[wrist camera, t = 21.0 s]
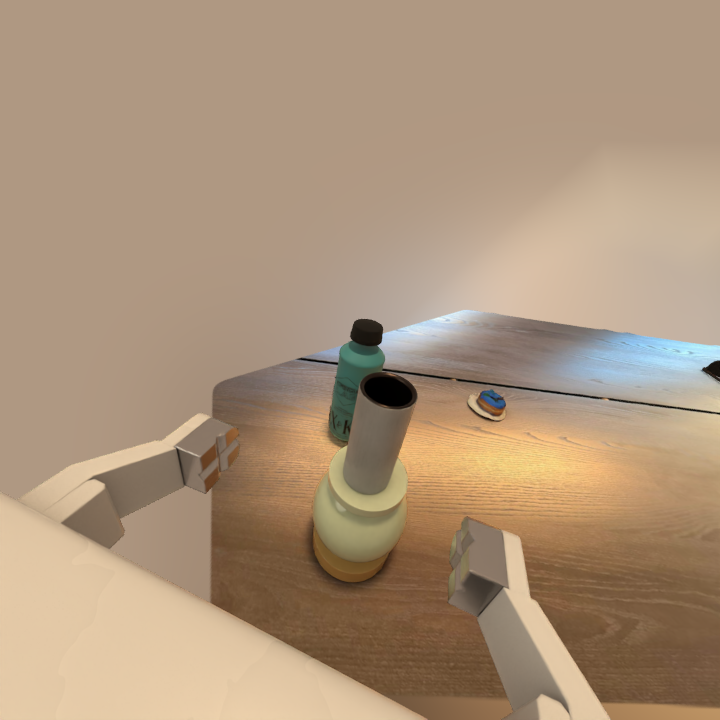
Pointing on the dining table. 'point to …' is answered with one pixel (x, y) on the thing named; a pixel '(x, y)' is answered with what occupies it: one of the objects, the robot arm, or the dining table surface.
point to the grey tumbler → (378, 430)
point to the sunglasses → (713, 370)
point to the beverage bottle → (354, 373)
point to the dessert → (488, 404)
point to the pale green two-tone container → (357, 522)
